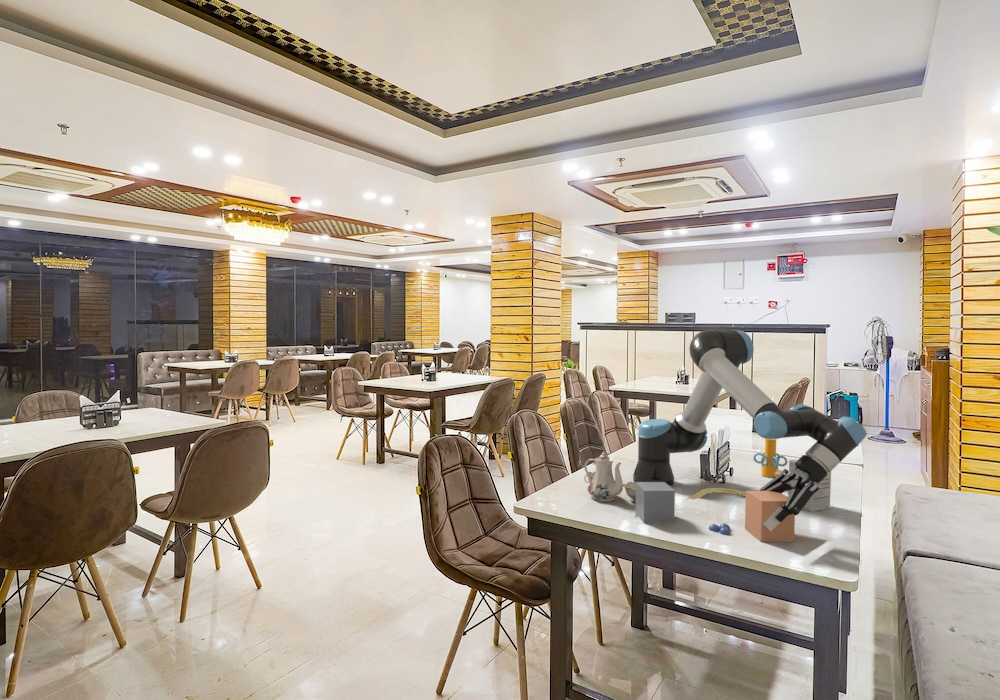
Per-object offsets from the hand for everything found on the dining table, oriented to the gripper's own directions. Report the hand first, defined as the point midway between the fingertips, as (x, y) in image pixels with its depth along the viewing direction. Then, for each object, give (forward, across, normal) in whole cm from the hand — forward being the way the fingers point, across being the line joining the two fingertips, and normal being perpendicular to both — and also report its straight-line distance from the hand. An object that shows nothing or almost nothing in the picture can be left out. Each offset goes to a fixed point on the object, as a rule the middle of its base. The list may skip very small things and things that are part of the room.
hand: (757, 520), depth 147 cm
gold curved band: (+3, +30, -6) cm, 31 cm away
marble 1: (+10, +4, +4) cm, 12 cm away
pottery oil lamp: (-21, +46, -30) cm, 59 cm away
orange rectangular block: (+1, 0, -5) cm, 5 cm away
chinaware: (+27, +40, +19) cm, 51 cm away
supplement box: (-18, +28, -26) cm, 43 cm away
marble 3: (+9, +2, +3) cm, 9 cm away
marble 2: (+8, +5, +2) cm, 9 cm away
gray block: (+21, +14, +13) cm, 29 cm away
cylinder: (-23, +66, -31) cm, 76 cm away
